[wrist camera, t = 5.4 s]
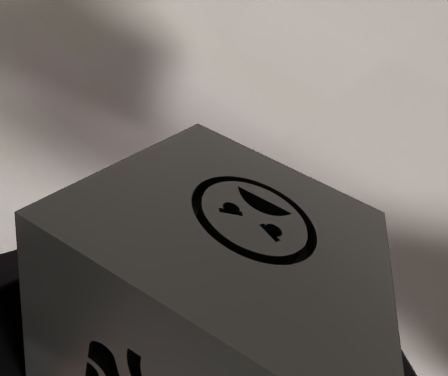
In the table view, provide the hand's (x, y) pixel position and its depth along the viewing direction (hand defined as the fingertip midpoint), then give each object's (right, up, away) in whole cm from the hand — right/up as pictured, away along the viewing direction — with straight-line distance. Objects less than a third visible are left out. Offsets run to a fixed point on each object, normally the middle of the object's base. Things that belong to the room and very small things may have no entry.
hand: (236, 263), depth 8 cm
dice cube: (+1, +1, +1) cm, 1 cm away
